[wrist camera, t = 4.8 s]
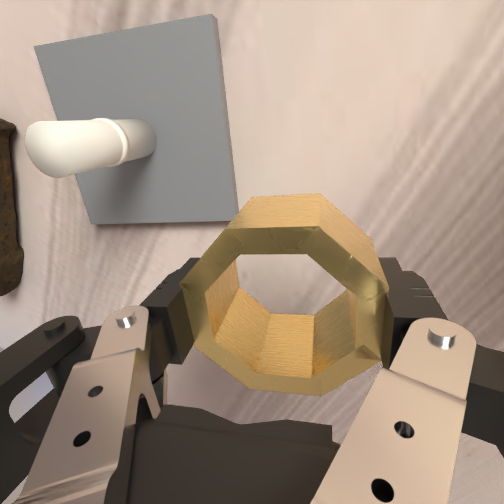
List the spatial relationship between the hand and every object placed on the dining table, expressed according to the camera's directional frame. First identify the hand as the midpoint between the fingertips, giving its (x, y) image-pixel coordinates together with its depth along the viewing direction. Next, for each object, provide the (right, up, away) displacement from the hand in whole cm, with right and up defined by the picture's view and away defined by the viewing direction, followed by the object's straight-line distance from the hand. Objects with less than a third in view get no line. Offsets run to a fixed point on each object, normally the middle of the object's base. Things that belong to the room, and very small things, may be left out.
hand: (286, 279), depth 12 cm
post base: (-10, +11, +13) cm, 20 cm away
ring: (0, 0, +1) cm, 1 cm away
